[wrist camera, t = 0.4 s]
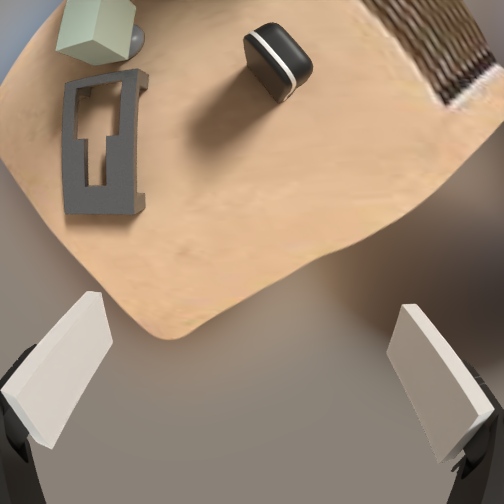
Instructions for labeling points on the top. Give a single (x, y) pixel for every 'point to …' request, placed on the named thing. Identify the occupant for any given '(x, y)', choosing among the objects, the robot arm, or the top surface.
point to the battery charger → (276, 60)
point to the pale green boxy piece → (99, 31)
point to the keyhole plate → (117, 150)
